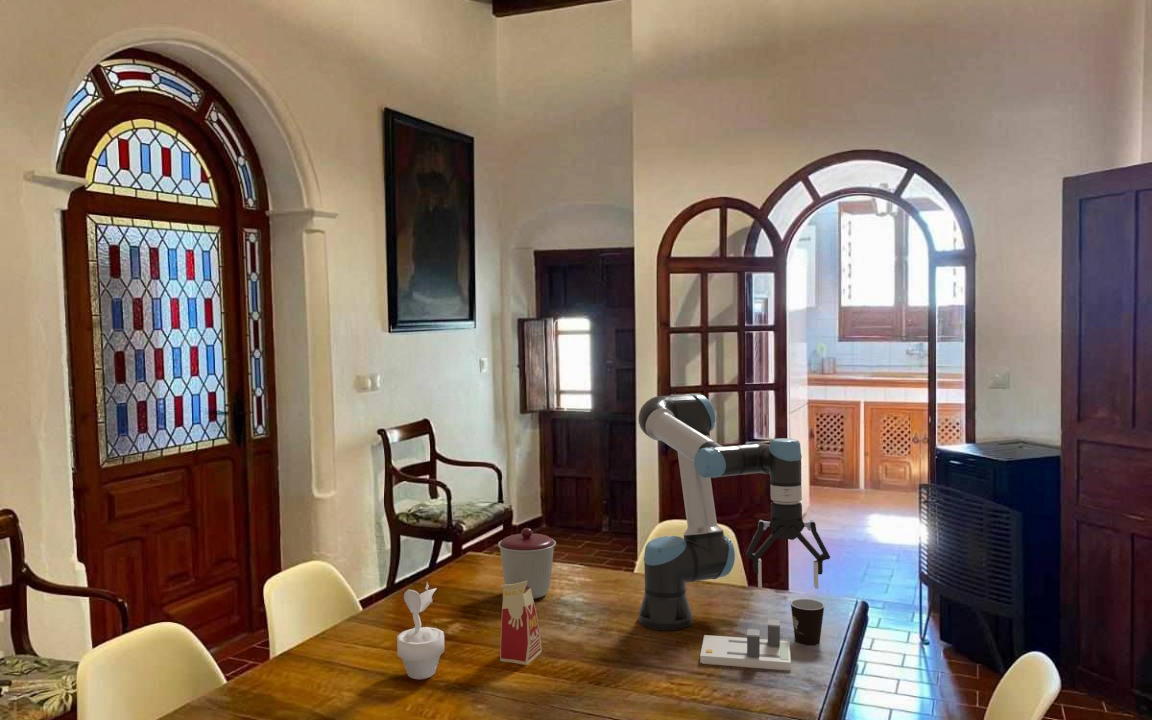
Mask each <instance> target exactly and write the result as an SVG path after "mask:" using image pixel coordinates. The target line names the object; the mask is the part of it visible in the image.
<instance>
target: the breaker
mask: <svg viewBox="0 0 1152 720" xmlns="http://www.w3.org/2000/svg"><path fill="white" fill-rule="evenodd" d="M780 621H781V620H780V619H771V618H769V619H768V618H767V639H768V645H771V646H780V640H781V622H780Z"/></svg>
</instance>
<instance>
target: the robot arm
mask: <svg viewBox="0 0 1152 720" xmlns="http://www.w3.org/2000/svg"><path fill="white" fill-rule="evenodd" d="M637 419H638V424H639V428H640V429H641V431H642V432H643V433H644V434H645V435H646V436H648V438H650V439H652V440H655V441H661V442H663V443H664V444H666V445H667V446H669V447H670V448H672V449H673V450H675V451H676V452H677V456H678V457H677V458H678V465H679V472H680V479H681V480H680V481H681V487H682V495H683V502H684V510H685V517H686V524H687V528H686V530H685V532H684V533H683V537H681V536H677V535H672V536H671V535H670V536H668V535H665V536H661V537H660V536H659V537H657V538H653V539H652V540H649V541H648V542H647V543H646V545H645V547H644V555H643V556H644V557H643V563H644V564H643V565H644V595H643V599H642V602H641V604H640V608H639V611H638V622H639V624H640V625H641V626H643V627H644V628H648V629H651V630H656V631H679V630H683V629H687V628H688V627H690V626H691V625H692V624H693V614H692V611H691V607H690V603H689V601H688V598H687V594H686V590H687V589H686V588H687V585H686V584H687V583H692V582H694V583H695V582H701V581H706V580H707V581H708V580H717V579H720V578H723V577H726V576H728V575H729V574H730V573H731V572H732V569H733V568H734V565H735V559H736V553H735V546H734V543H732V540H731V538H730V537H728V536H726V535H725V533H724V529H723V528H722V527H720V526H719V525H718V521H717V514H716V508H715V501H714V500H715V499H714V494H713V486H712V479H716V478H722V477H731V476H742V475H752V474H765V475H769V477H770V480H769V481H770V486H769V487H770V499H771V503H770V520H769V521H765V520H762V519H759V520H758V521H757V528H756V531H755V533H754V535H753V537H752V539H751V541H750V542H749V545H748V547H747V549H746V551H745V558H746V559H750V560H751V561H752V570H753V573H754V574H757V585H758V586H757V587H758V588H759V589H761V588H762V587H763V583H762V579H763V578H762V575H763V574H762V559H761V557H762V556H763V555H764V554H765V553H766V551H767V550H768V549H769V548H770V547H771V545H772V544H774V542H775V541H776V540H777V539H780V540H781V541H782V540H783V541H784V540H785V541H786V540H791V541H794V540H796V539H798V540H799V542H800V543H801V544H802V545H803V546H804V547H805V548H806V549H807V550H808V551H809V552H810V554H811V555H812V556H813V557H814V558H815V559H813V562H812V563H813V587H814V588H815V589H816V590H818V589H819V575H823V564H824V561H826V560H830V559H831V556H830V553H829V552H828V549H827V548H826V546H825V544H824V542H823V540H822V539H821V536H820V535H819V533H818V531H817V525H816V522H815V520H813V519H810V520H809V521H803V503H802V502H801V501H802V500H803V494H802V491H803V490H802V489H803V488H802V457H803V456H802V452H801V451H802V450H801V442H800V441H799V440H798V439H796V438H786V437H785V438H782V437H781V438H773V439H771V440H770V441H769V444H768V443H763V442H760V441H749V442H746V443H744V444H737V445H722V444H720V443H717V442H716V441H714V440H713V439H711V436H710V435H711V434H710V433H711V432H712V431H713V430H714V428H715V426H716V425H715V424H716V420H717V419H716V413H715V409H714V407H713V405H712V403H711V401H710V399H708V398H707V397H706V396H705V395H703V394H697V393H695V394H693V393H687V394H674V395H659V396H658V395H657V396H654V397H651V398H649V399H647V400H646V401H645V403H644V404H643V405H642V406H641V407H640V410H639V413H638V418H637ZM768 527H769V528H770V530H771V531H772V532H771V533H770V534H769V536H768V537H767V538H766V539H765V540H764V541H763V542H762V544H761V545H760V546H759V548H757V550H756V551H755V549H756V547H757V545H758V544H759V543H758V542H759V541H760V539H761V537H762V536H763V533H764V531H766V530H767V528H768ZM805 528H806V529H807V530H808V531H811V533H812V536H813V537H814V540H815V542H816V543H817V545H818V547H819V549H820V551H821V552H822V553H821V554H820V553H819V552H818V551H817V550H816V549H815V547H814V546H813V545H812V544H811V543H810V542H809V541H808V539H807V538H806V537H805V535H803V533H802V531H803V530H804V529H805Z"/></svg>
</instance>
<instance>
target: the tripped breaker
mask: <svg viewBox="0 0 1152 720" xmlns="http://www.w3.org/2000/svg"><path fill="white" fill-rule="evenodd" d="M760 634H761V632H760V629H756V628H755V629H753V628H747V632H746V638H747V656H753V657H760V639H761V636H760Z"/></svg>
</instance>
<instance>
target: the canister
mask: <svg viewBox="0 0 1152 720" xmlns="http://www.w3.org/2000/svg"><path fill="white" fill-rule="evenodd" d="M556 545H557V541H556V540H554V539H553V538H551V537H549V536H548V535H546V534H542V533H534V532H533V530H532V528H530V527H524V528H523V529H522V530H521V532H520V533H517V534H511V535H509V536H506V537H504V538H503V539H501V540H500V541H498V544H497V546H498V548H499V549H500V557H501V558H500V559H501V567H502V575H503V580H504V585H507V584H516V583H520V582H524V581H527V586H528V587H530V588H531V592H532V596H533V600H536V599H539V598H542V597H544V596H546V595H547V594H548V592H549V590H550V586H551V579H552V571H553V561H554V560H553V558H554V550H555V548H554V547H555V546H556Z"/></svg>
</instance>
